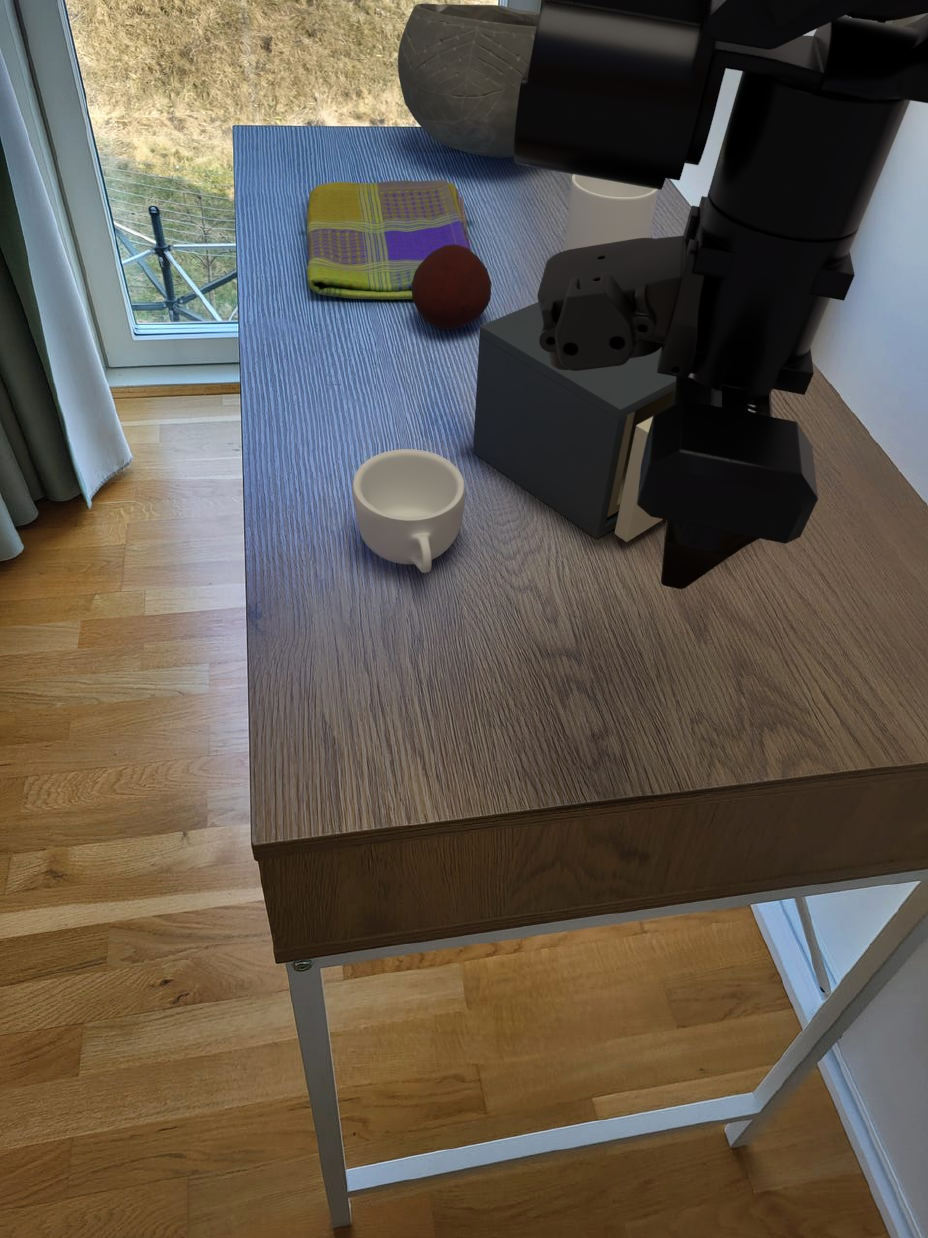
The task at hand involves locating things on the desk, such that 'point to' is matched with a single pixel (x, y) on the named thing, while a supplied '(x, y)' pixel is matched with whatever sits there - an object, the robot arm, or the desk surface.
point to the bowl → (466, 73)
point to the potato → (451, 287)
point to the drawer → (633, 471)
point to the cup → (607, 212)
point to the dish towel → (378, 235)
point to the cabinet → (556, 418)
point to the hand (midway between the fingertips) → (675, 522)
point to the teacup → (409, 505)
